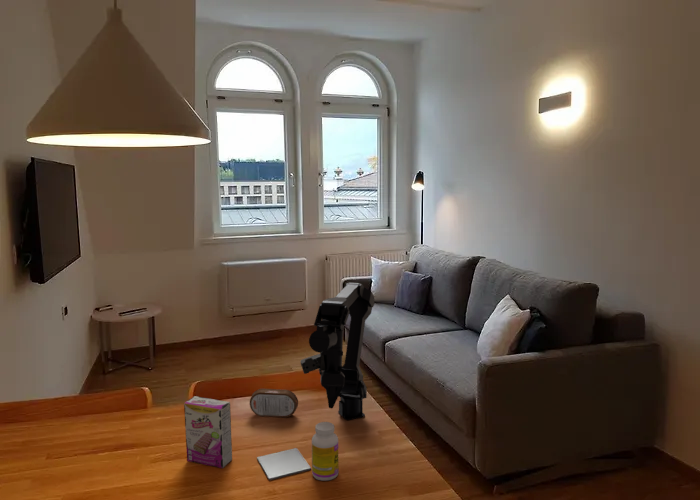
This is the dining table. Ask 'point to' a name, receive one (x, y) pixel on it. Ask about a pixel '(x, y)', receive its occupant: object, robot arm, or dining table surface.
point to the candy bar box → (208, 431)
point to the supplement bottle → (325, 452)
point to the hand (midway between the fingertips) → (329, 402)
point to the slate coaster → (283, 463)
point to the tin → (273, 403)
